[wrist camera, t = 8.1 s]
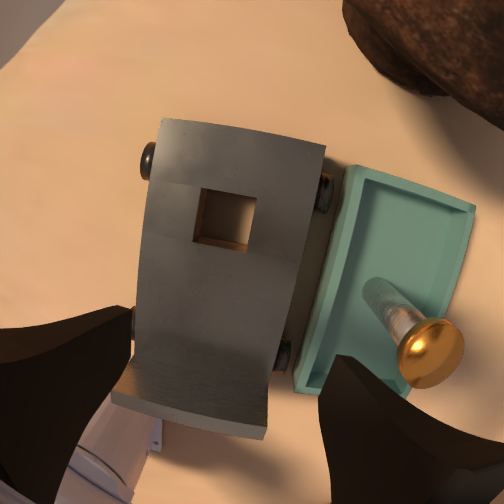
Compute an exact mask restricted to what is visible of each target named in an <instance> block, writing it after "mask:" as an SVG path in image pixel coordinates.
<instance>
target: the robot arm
mask: <svg viewBox="0 0 504 504" xmlns="http://www.w3.org/2000/svg"><path fill="white" fill-rule="evenodd" d="M132 313H133V310H132V309H128V308H125V307H122V306H118V305H116V306H111V307H107V308H103V309H100V310H96V311H93V312H90V313H86V314H83V315H80V316H76V317H73V318H69V319H65V320H61V321H57V322H53V323H49V324H43V325H38V326H31V327H23V328H4V329H0V504H132V503H131V501H132V498H133V496H134V492H133V491H134V489H135V487H136V485H137V482H138V480H139V477H140V475H141V472H142V470H143V467H144V465H145V462H146V460H147V458H148V455H149V453H150V450H153V451H157V452H160V451H161V449H162V419H159V418H155V417H152V416H149V415H145V414H142V413H139V412H136V411H133V410H130V409H127V408H124V407H121V406H118V405H115V404H113V403H111V395H110V392H111V390H112V389H113V387H114V386H115V385H116V383H117V382H118V380H119V379H120V377H121V375H122V374H123V372H124V370H125V368H126V366H127V364H128V362H129V360H130V358H131V332H132ZM318 412H319V423H320V428H321V433H322V438H323V443H324V448H325V452H326V457H327V462H328V467H329V473H330V481H331V500H332V504H489V503H490V502H491V501H492V500H493V499H494V498H495V497H496V496H497V495H498V494H499V493H500V492H501V491H502V490H503V489H504V443H501V442H497V441H492V440H488V439H484V438H480V437H477V436H474V435H471V434H468V433H466V432H463V431H460V430H458V429H455V428H453V427H451V426H449V425H447V424H445V423H443V422H441V421H439V420H437V419H435V418H433V417H431V416H430V415H428V414H426V413H425V412H423V411H421V410H420V409H418V408H417V407H415V406H414V405H412V404H411V403H409V402H408V401H407V400H405V399H404V398H403V397H401V396H400V395H399V394H397V393H396V392H395V391H394V390H392V389H391V388H390V387H389V386H387V385H386V384H385V383H384V382H383V381H381V380H380V379H379V378H378V377H377V376H376V375H375V374H373V373H372V372H371V371H370V370H369V369H368V368H366V367H365V366H364V365H363V364H362V363H360V362H359V361H358V360H357V359H355V358H354V357H352V356H346V355H339V354H336V356H335V358H334V361H333V363H332V366H331V368H330V371H329V373H328V375H327V378H326V380H325V383H324V385H323V387H322V390H321V392H320V394H319V397H318Z"/></svg>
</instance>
